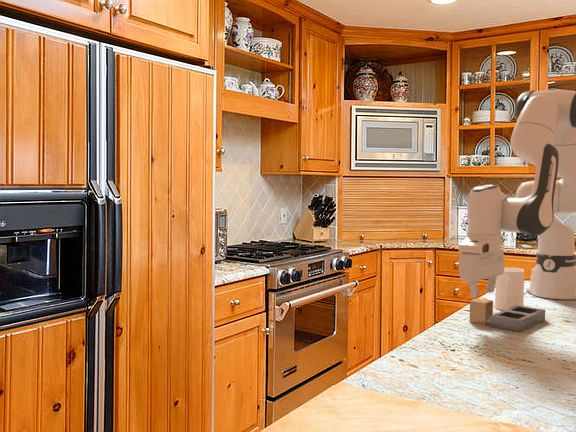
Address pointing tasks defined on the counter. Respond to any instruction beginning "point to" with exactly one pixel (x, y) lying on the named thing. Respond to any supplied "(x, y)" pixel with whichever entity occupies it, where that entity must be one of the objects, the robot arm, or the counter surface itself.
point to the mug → (509, 288)
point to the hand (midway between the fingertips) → (482, 294)
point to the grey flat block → (517, 318)
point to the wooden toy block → (481, 311)
